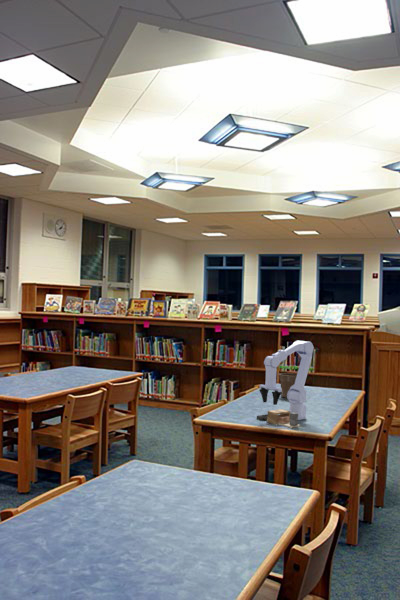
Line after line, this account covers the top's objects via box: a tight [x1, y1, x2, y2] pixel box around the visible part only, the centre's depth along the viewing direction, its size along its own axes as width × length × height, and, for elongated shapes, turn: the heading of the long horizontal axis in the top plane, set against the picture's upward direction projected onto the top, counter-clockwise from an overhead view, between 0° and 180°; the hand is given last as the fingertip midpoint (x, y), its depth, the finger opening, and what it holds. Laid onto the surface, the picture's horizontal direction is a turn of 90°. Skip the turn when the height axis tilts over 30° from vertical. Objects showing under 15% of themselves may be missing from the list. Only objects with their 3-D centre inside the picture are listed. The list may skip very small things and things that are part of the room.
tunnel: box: [266, 408, 290, 426], centre depth 280 cm, size 11×6×6 cm, turn 129°
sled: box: [277, 412, 301, 429], centre depth 277 cm, size 7×18×7 cm, turn 39°
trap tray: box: [256, 413, 268, 422], centre depth 287 cm, size 9×5×2 cm, turn 129°
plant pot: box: [278, 372, 297, 399], centre depth 365 cm, size 16×16×16 cm
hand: (269, 403), depth 281 cm, fingers open, 7 cm apart
